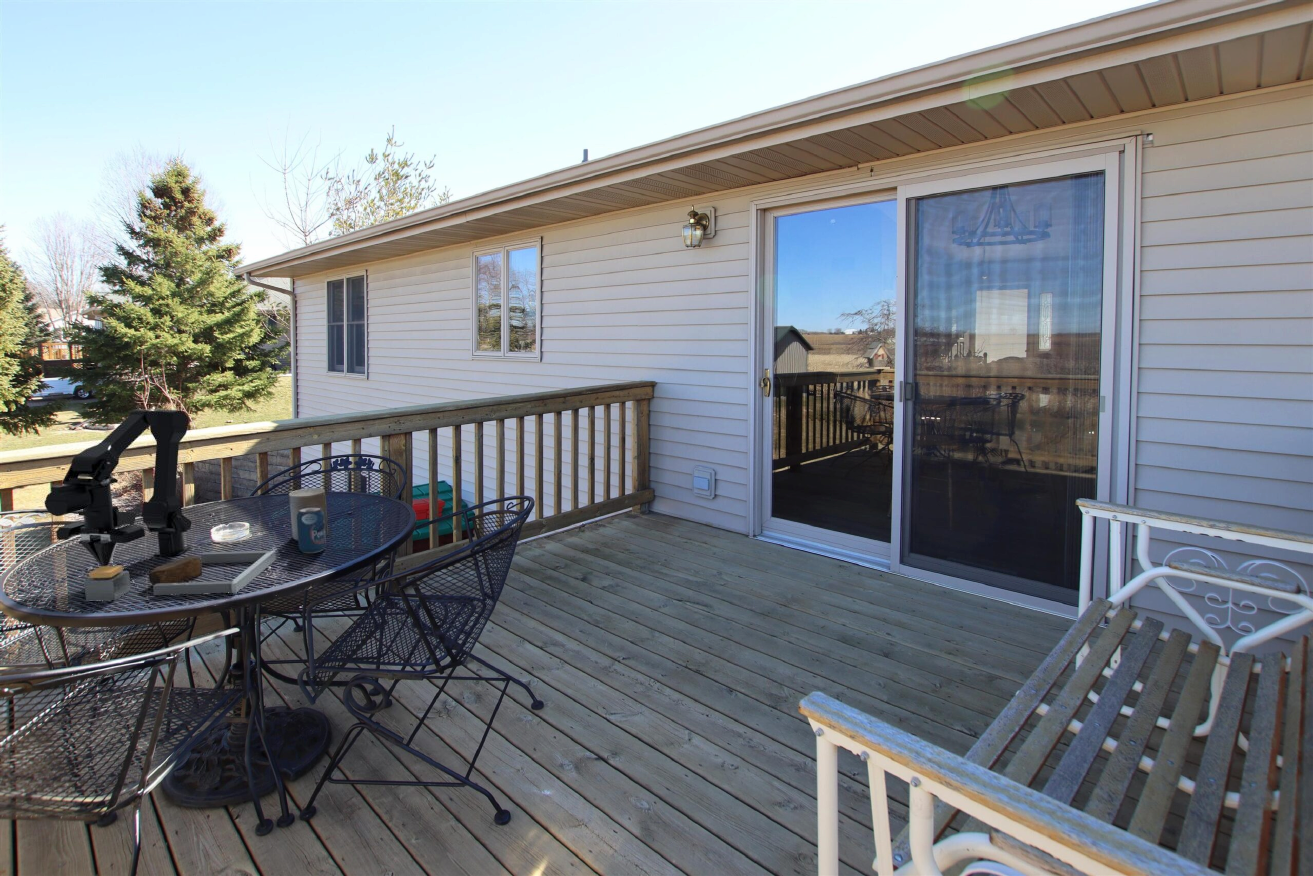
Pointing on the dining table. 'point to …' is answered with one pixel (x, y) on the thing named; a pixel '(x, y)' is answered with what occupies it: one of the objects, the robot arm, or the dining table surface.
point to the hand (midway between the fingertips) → (105, 565)
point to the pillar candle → (306, 505)
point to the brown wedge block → (176, 571)
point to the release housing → (107, 587)
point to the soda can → (311, 529)
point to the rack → (261, 563)
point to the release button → (105, 572)
